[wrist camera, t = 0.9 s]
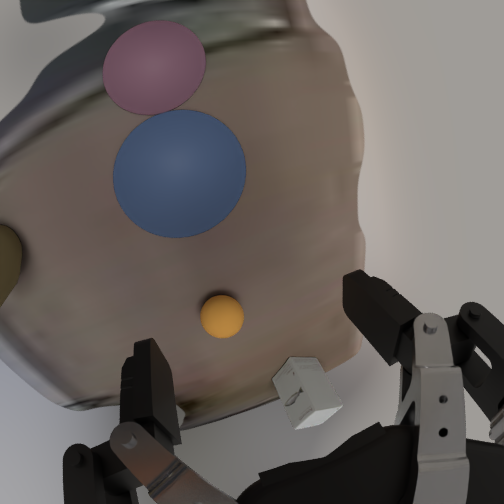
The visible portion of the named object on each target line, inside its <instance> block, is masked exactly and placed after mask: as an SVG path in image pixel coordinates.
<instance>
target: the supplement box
mask: <svg viewBox="0 0 504 504" xmlns="http://www.w3.org/2000/svg"><path fill="white" fill-rule="evenodd" d="M272 380H273V383H274V385H275V387H276V390H277V392H278V394H279V397H280V399H281V401H282V404H283V406H284V408H285V410H286V413H287V415H288V417H289V419H290V422H291V424H292V426H293V428H294V430H295V429H301V428H306V427H311V426H316V425H320V424H322V423H323V422H325V421H326V420H327V419H328V418H329V417H330V416H332V415H333V414H334V413H335V412H337V410H339V409H340V408H341V407H342V406H343V404H342V402H341V400H340V398H339V396H338V395H337V393H336V391H335V389H334V388H333V386H332V384H331V383H330V381H329V379H328V377H327V375H326V374H325V372H324V370H323V368H322V367H321V365H320V363H319V361H318V360H317V358H313V357H289V359H288V360H287V362H286V363H285V364H284V365H283V367H282V368H281V369H280V370H279V371H278V373H277V374H276V375H275V376H274V377H273V378H272Z"/></svg>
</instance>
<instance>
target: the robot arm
mask: <svg viewBox="0 0 504 504" xmlns="http://www.w3.org/2000/svg"><path fill="white" fill-rule="evenodd" d="M343 308H344V311H345V313H346V315H347V317H348V318H349V319H350V320H351V321H352V322H353V324H354V325H355V326H356V327H357V328H358V329H359V331H360V332H361V333H362V334H363V335H364V336H365V338H366V339H367V340H368V341H369V342H370V343H371V345H372V346H373V347H374V348H375V349H376V350H377V352H378V353H379V354H380V355H381V356H382V358H383V359H384V360H385V361H386V362H387V363H388V365H389V366H391V365H393V364H394V363H396V362H398V361H399V362H400V364H401V369H400V391H399V405H398V411H397V415H396V418H395V424H394V425H390V426H385V427H382V426H381V424H380V423H379V422H378V423H376V424H374V425H372V426H370V427H368V428H366V429H365V430H363V431H361V432H359V433H357V434H355V435H353V436H351V437H350V438H349V439H348V440H347V441H345V442H344V443H343V444H342V445H341V446H339V447H338V448H337V449H335V450H334V451H333V452H331V453H330V454H329V455H327V456H326V457H323V458H318V459H312V460H306V461H300V462H293V463H288V464H285V465H282V466H280V467H277V468H274V469H271V470H267V471H264V472H261V473H259V477H260V479H259V480H258V481H256V482H254V483H253V484H252V485H250V486H249V487H248V488H247V489H245V491H243V492H242V493H241V495H240V496H239V497H238V498H237V500H236V499H234V498H232V497H231V496H229V495H228V494H226V493H225V492H223V491H222V490H220V489H219V488H217V487H216V486H214V485H213V484H211V483H210V482H208V481H207V480H206V479H204V478H203V477H202V476H200V475H199V474H197V473H196V472H195V471H193V470H192V469H191V468H190V467H189V466H187V465H186V464H185V463H184V462H182V461H181V460H180V459H179V458H177V457H176V456H175V455H174V448H173V445H178V444H182V443H181V436H180V430H179V424H178V418H177V410H176V403H175V395H174V386H173V378H172V372H171V369H170V366H169V364H168V362H167V360H166V359H165V357H164V355H163V354H162V352H161V350H160V348H159V347H158V345H157V343H156V342H155V340H154V339H153V338H149V339H146V340H142V341H138V342H135V343H134V355H133V356H132V357H128V358H127V359H126V361H125V363H124V365H123V367H122V373H121V380H122V381H121V391H120V423H119V425H118V426H117V427H115V428H114V430H113V431H112V433H111V436H110V440H109V441H107V442H104V443H102V444H100V445H98V446H96V447H93V448H91V449H90V448H88V447H87V446H86V445H84V444H74V445H72V446H70V447H69V448H68V449H67V450H66V452H65V454H64V456H63V490H64V504H139V502H138V497H137V492H136V488H137V487H140V486H142V485H144V486H145V487H146V488H147V489H148V491H149V492H148V494H149V496H150V497H151V498H152V499H153V500H154V501H155V502H156V503H157V504H504V325H503V324H502V323H501V322H500V321H499V320H498V319H497V318H496V317H495V316H494V315H492V314H491V313H490V312H489V311H488V310H487V309H486V308H485V307H483V306H482V305H481V304H478V303H475V302H467V303H465V304H463V305H462V307H461V309H460V312H459V314H458V315H455V316H452V317H448V318H444V319H443V318H442V317H441V316H439V315H437V314H434V313H424V314H423V313H421V312H420V311H419V310H418V309H417V308H416V307H415V306H413V305H412V304H411V303H410V302H409V301H408V300H407V299H405V298H404V297H403V296H402V295H401V294H400V295H399V293H398V292H397V291H396V290H395V289H393V288H392V287H391V286H390V285H389V284H388V283H387V282H385V281H384V280H382V279H379V278H377V277H374V276H373V277H370V276H368V275H367V274H366V273H365V272H364V271H362V270H360V269H359V270H356V271H354V272H351V273H349V274H346V275H344V276H343ZM476 346H477V347H478V348H479V349H480V350H481V351H482V352H483V353H484V354H485V355H486V356H487V358H488V359H489V360H490V362H491V365H492V369H491V368H490V367H489V366H488V365H487V364H486V363H485V362H484V361H483V359H481V357H480V356H479V355H478V354H477V353H476V352H475V351H474V350H475V348H476ZM463 387H464V388H465V389H466V391H467V392H468V393H469V394H470V396H471V397H472V398H473V399H474V401H475V402H476V403H477V405H478V406H479V407H480V408H481V410H482V411H483V412H484V414H485V415H486V416H487V418H488V419H489V420H490V422H491V424H490V428H491V430H490V432H489V437H490V439H492V440H495V443H490V442H484V441H478V440H472V439H467V438H466V423H465V422H466V421H465V401H464V389H463Z"/></svg>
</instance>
